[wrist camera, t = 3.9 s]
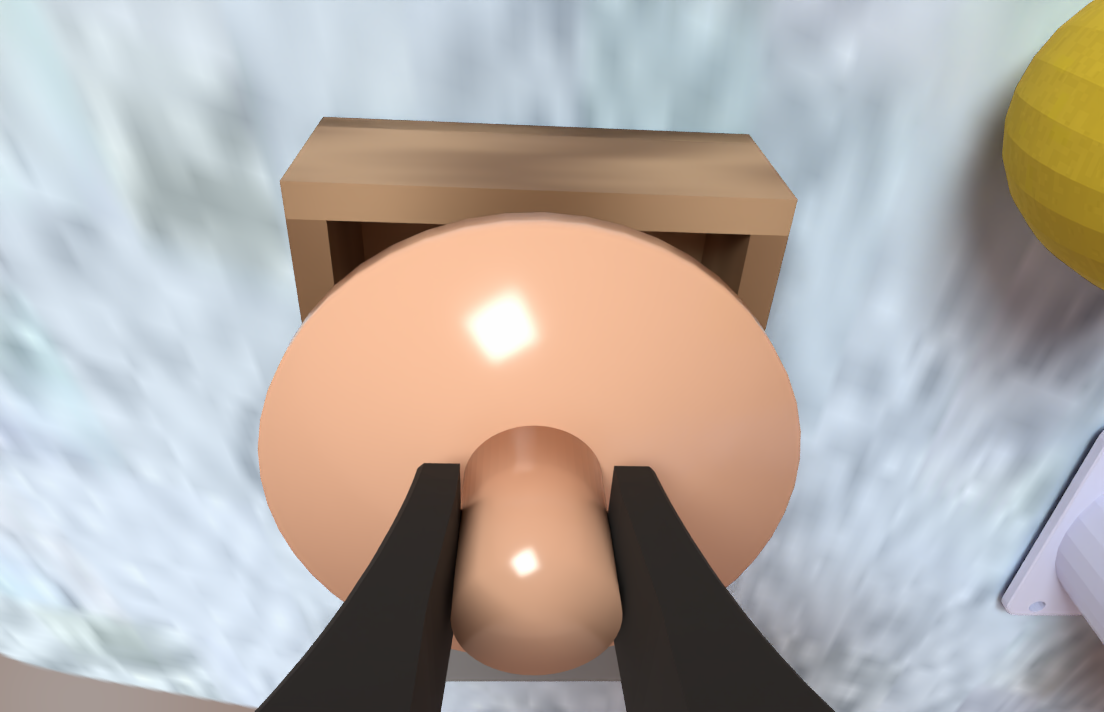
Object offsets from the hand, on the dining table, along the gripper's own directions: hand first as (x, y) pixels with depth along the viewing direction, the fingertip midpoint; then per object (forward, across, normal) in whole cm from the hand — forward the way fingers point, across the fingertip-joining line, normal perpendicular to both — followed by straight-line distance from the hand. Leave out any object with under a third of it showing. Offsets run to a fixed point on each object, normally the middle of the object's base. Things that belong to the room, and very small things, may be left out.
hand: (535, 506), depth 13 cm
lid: (+2, 0, 0) cm, 2 cm away
